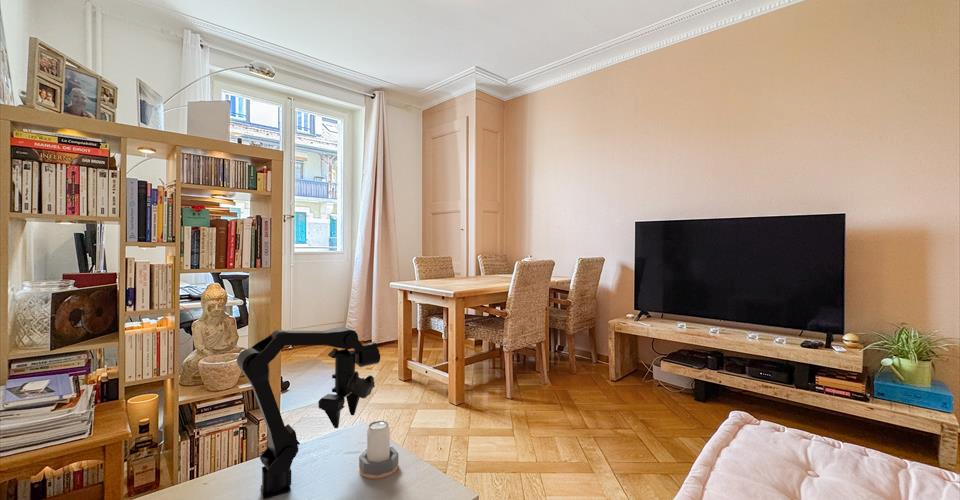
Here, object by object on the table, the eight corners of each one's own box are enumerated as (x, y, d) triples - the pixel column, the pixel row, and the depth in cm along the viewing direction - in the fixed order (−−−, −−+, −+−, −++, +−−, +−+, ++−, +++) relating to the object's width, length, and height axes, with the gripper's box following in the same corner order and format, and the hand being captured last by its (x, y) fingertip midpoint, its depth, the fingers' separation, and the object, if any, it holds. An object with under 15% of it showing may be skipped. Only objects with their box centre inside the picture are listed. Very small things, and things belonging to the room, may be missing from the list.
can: (392, 459, 122) (392, 420, 122) (385, 471, 115) (386, 430, 115) (371, 458, 122) (371, 419, 122) (363, 470, 116) (364, 429, 116)
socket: (366, 483, 111) (366, 469, 111) (354, 465, 121) (354, 451, 121) (404, 471, 117) (404, 457, 117) (390, 454, 127) (390, 442, 127)
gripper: (353, 382, 110) (353, 438, 110) (383, 363, 128) (383, 411, 129) (317, 379, 112) (316, 434, 113) (351, 360, 131) (351, 408, 131)
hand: (344, 421), depth 121 cm, fingers open, 9 cm apart
